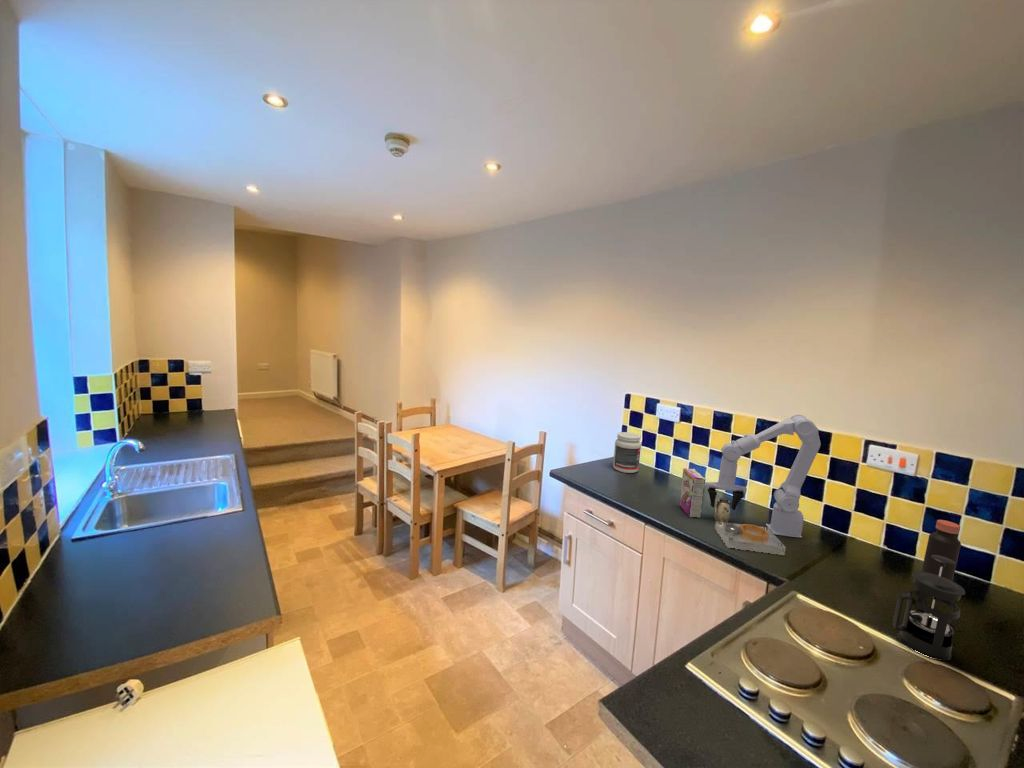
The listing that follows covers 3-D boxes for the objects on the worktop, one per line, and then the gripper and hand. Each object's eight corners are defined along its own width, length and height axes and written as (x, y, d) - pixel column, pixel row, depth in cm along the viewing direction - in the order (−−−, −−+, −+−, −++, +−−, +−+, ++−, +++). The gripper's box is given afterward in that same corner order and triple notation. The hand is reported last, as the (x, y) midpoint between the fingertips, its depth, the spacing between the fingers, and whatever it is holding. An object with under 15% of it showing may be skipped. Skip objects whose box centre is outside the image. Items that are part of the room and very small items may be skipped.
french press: (940, 639, 106) (960, 554, 103) (964, 667, 97) (987, 575, 94) (882, 625, 110) (899, 542, 107) (900, 650, 101) (920, 561, 98)
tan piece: (725, 517, 169) (728, 497, 167) (732, 526, 161) (735, 505, 160) (712, 516, 169) (715, 496, 168) (718, 524, 162) (721, 503, 161)
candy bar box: (678, 505, 178) (682, 467, 175) (690, 506, 178) (694, 468, 175) (688, 517, 167) (693, 477, 164) (701, 518, 167) (706, 478, 164)
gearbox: (766, 535, 156) (768, 523, 155) (784, 555, 142) (786, 543, 141) (714, 528, 159) (716, 517, 158) (727, 548, 145) (728, 535, 144)
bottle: (914, 579, 132) (927, 519, 129) (927, 576, 135) (940, 517, 132) (942, 593, 126) (957, 530, 123) (955, 589, 128) (970, 527, 125)
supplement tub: (642, 474, 213) (646, 438, 210) (618, 474, 211) (621, 438, 208) (632, 465, 226) (635, 431, 223) (609, 465, 224) (612, 431, 221)
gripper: (743, 473, 167) (738, 505, 169) (704, 468, 169) (700, 501, 171) (750, 479, 160) (745, 513, 162) (710, 474, 162) (705, 508, 164)
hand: (722, 507), depth 166 cm, fingers open, 7 cm apart
